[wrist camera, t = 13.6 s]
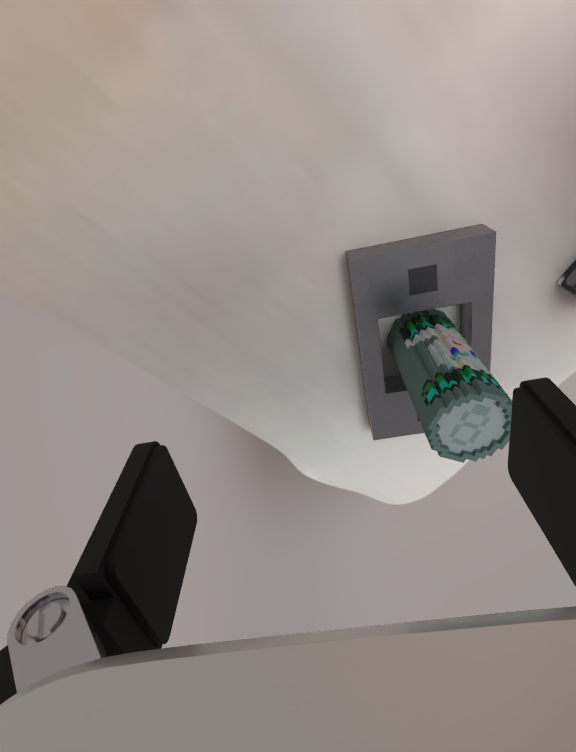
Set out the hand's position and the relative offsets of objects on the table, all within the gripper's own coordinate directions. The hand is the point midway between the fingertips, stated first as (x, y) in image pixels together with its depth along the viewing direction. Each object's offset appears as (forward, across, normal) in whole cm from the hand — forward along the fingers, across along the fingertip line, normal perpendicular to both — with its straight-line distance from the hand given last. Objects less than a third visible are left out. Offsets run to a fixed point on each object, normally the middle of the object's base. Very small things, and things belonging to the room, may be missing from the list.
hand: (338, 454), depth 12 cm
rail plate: (+30, -9, +13) cm, 34 cm away
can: (+31, -9, +13) cm, 34 cm away
